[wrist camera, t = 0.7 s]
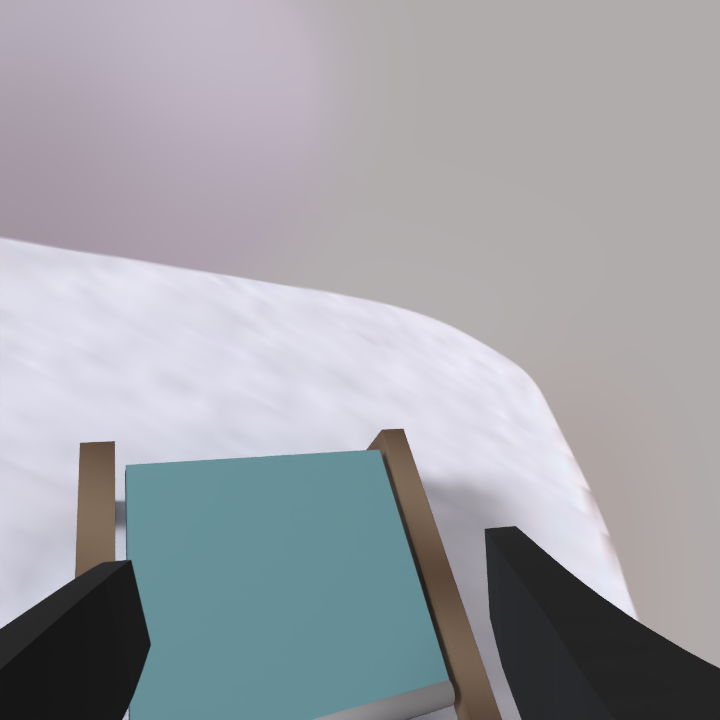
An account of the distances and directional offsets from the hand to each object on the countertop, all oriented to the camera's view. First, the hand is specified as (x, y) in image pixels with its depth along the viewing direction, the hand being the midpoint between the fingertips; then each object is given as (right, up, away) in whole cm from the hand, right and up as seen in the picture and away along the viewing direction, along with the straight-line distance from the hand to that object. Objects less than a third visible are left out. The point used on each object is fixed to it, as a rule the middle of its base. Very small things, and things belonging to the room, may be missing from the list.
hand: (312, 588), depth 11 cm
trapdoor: (-3, -8, +11) cm, 14 cm away
